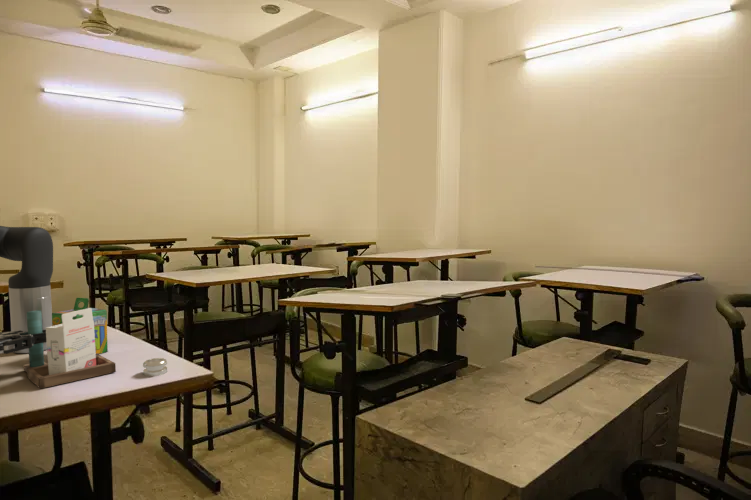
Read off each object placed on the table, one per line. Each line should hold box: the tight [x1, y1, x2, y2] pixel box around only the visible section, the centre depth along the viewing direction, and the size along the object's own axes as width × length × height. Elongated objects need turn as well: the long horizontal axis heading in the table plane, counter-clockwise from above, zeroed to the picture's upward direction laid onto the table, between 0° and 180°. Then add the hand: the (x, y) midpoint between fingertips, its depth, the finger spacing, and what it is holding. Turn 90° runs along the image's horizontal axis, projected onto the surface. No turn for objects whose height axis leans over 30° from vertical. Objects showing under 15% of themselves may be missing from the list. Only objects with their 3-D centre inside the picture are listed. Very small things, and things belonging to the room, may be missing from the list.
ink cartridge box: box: [46, 307, 96, 375], centre depth 109 cm, size 9×5×15 cm, turn 166°
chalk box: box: [52, 297, 109, 355], centre depth 126 cm, size 9×9×15 cm
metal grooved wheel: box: [142, 357, 168, 377], centre depth 111 cm, size 5×3×5 cm
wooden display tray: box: [23, 311, 117, 389], centre depth 112 cm, size 18×15×14 cm
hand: (49, 335), depth 114 cm, fingers closed on wooden display tray, 3 cm apart
